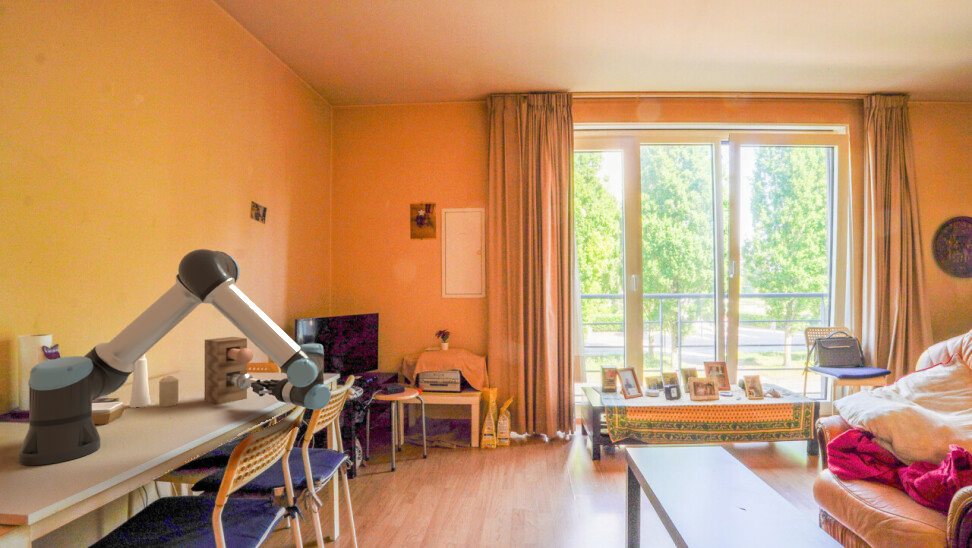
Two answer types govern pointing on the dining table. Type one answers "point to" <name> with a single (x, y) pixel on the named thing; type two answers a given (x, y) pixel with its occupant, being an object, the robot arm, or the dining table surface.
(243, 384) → the steel plug
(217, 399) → the socket block
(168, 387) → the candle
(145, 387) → the cosmetic bottle
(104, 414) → the soap dish
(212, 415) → the dining table surface
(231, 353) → the terracotta plug
